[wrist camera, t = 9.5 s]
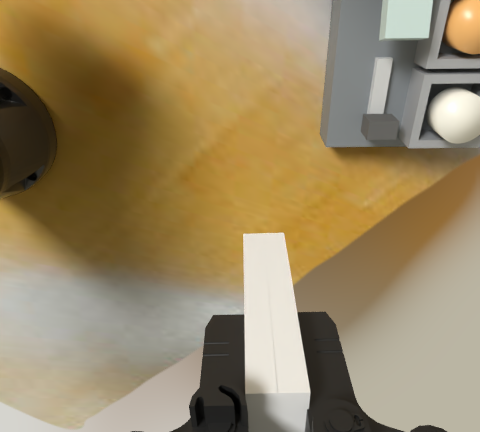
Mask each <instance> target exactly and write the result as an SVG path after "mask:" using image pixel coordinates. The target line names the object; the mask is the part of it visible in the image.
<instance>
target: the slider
mask: <svg viewBox="0 0 480 432" xmlns="http://www.w3.org/2000/svg"><path fill="white" fill-rule="evenodd" d="M399 122H400V121H399V120H398V119H397V118H396V117H394V116H393V115H392V114H363V118H362V125H361V133H362V134H363V136H364V137H365V138H366V140H396V137H397V132H398V127H399Z"/></svg>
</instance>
